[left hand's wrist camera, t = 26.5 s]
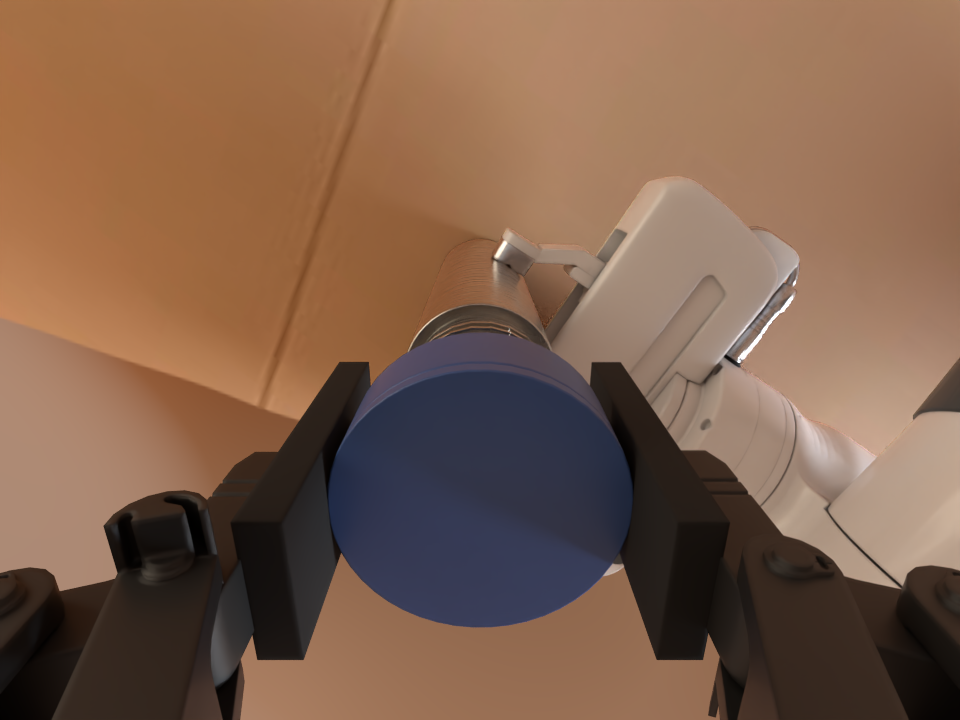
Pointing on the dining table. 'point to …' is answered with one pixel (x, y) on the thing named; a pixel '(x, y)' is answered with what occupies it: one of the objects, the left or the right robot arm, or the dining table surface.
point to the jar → (478, 299)
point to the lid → (480, 483)
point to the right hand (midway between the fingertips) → (464, 297)
